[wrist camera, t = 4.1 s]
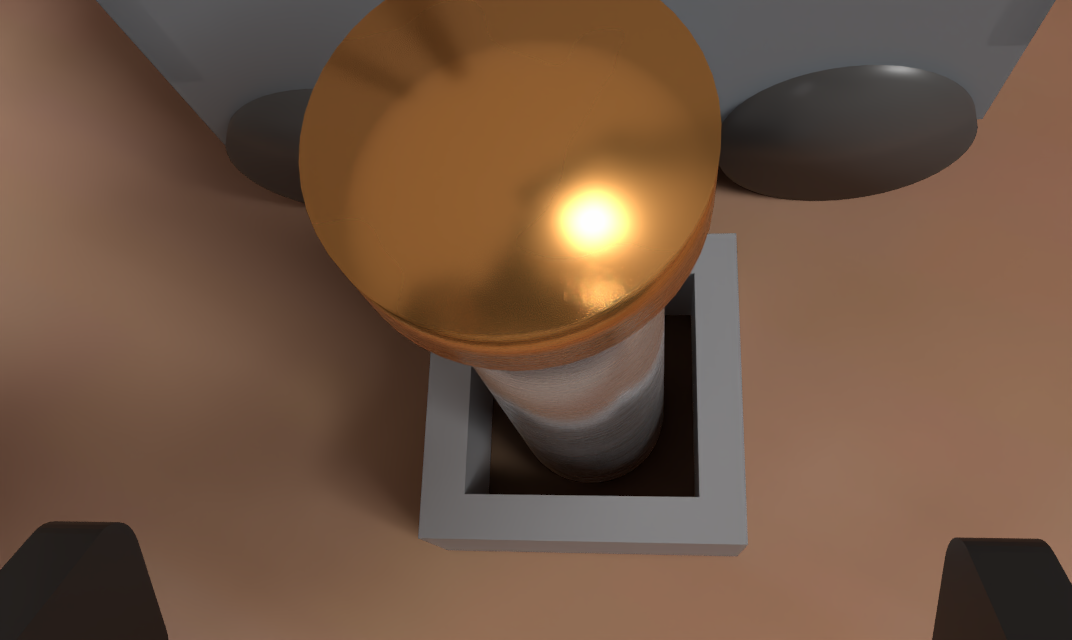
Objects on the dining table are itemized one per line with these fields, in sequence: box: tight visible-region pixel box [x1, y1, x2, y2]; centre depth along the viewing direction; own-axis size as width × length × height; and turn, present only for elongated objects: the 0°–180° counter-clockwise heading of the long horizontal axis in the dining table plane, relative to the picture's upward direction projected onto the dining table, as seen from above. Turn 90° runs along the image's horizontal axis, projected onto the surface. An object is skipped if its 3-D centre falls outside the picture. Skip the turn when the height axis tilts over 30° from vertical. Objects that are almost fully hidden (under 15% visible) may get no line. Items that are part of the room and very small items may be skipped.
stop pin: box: [299, 0, 722, 483], centre depth 15 cm, size 4×4×12 cm
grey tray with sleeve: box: [96, 0, 1055, 556], centre depth 18 cm, size 15×19×9 cm
